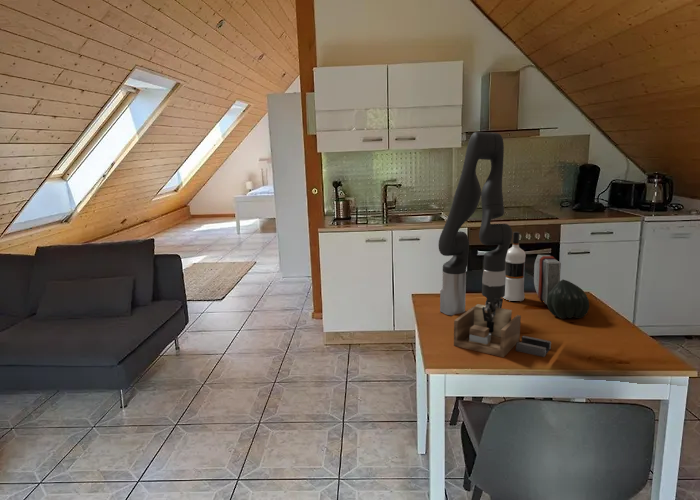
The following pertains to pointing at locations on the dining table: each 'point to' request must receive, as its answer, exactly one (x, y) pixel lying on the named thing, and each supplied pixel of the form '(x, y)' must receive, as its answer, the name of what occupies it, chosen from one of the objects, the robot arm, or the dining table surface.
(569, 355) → the dining table surface
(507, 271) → the vodka
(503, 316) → the beige rectangular slab
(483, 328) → the offcut
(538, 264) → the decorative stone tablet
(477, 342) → the offcut
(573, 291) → the squash
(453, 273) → the robot arm
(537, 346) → the stand
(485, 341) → the offcut
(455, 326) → the rack
